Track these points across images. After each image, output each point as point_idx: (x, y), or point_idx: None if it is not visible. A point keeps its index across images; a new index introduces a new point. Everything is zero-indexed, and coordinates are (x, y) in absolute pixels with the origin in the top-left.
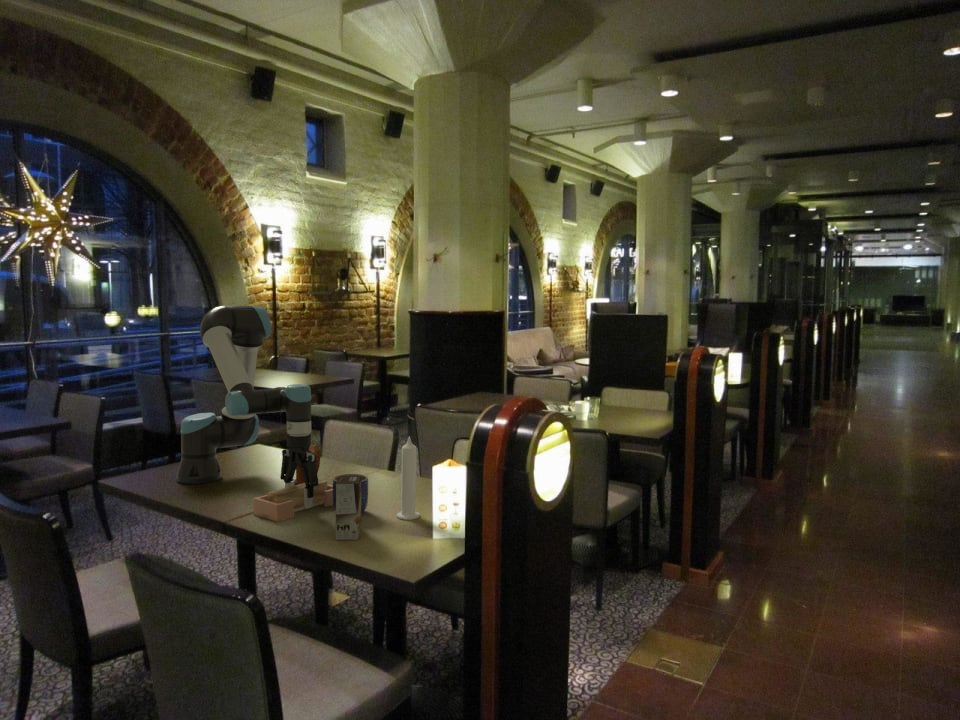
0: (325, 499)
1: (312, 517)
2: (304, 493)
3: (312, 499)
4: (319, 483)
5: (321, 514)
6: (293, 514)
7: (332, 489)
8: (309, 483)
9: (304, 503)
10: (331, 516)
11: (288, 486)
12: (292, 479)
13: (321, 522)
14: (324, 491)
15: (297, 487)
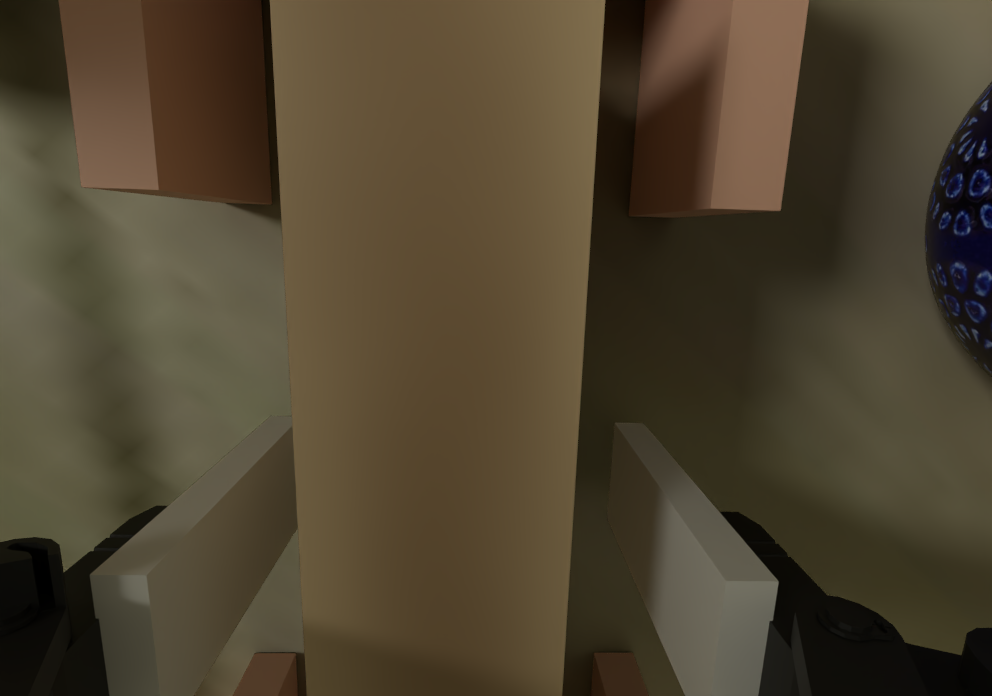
0: (688, 214)
1: (794, 558)
2: (675, 653)
3: (675, 462)
4: (593, 183)
5: (807, 441)
6: (638, 677)
7: (773, 18)
8: (408, 338)
9: (626, 551)
10: (940, 423)
11: (195, 664)
12: (57, 628)
13: (966, 600)
14: (714, 207)
15: (461, 683)
